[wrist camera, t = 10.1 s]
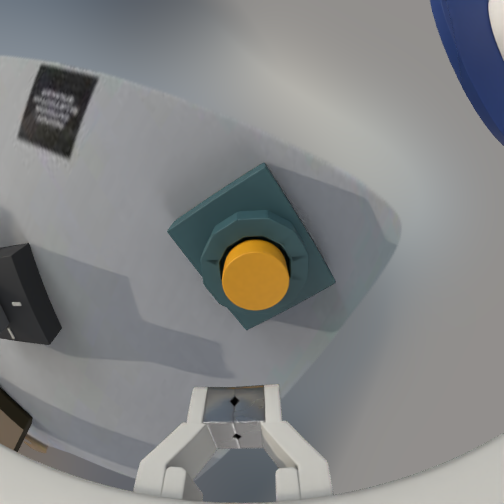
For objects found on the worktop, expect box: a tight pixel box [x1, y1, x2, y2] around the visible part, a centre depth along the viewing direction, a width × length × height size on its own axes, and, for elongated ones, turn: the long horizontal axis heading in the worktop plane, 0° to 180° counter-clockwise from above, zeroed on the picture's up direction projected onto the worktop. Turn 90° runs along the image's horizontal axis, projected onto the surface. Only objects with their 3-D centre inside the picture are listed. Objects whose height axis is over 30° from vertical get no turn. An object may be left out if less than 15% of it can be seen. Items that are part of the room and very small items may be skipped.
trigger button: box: [222, 239, 289, 310], centre depth 18 cm, size 4×4×2 cm
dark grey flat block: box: [0, 243, 62, 345], centre depth 23 cm, size 12×10×3 cm
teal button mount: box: [167, 163, 336, 330], centre depth 21 cm, size 10×8×4 cm
